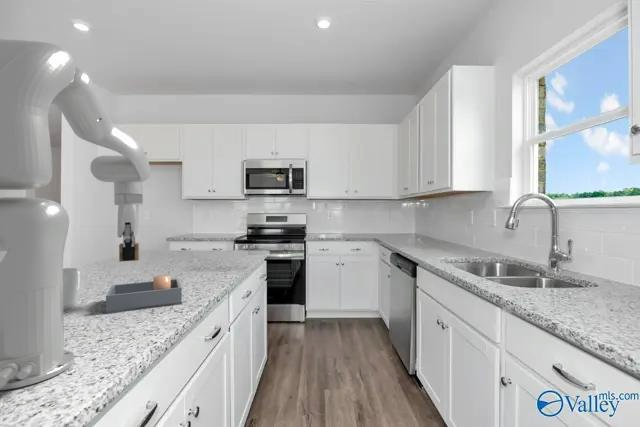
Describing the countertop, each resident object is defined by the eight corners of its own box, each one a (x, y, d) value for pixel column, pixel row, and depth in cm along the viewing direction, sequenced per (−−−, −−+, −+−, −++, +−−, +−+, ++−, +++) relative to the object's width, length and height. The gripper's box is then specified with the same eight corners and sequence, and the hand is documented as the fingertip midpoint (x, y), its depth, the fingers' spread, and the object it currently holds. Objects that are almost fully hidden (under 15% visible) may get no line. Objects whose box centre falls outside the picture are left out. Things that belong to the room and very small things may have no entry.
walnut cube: (119, 261, 94) (119, 245, 94) (121, 259, 98) (120, 243, 98) (138, 260, 96) (138, 244, 96) (139, 258, 101) (139, 242, 101)
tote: (178, 292, 111) (178, 278, 111) (181, 303, 98) (181, 287, 98) (112, 300, 101) (112, 285, 101) (106, 313, 89) (105, 296, 88)
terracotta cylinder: (153, 301, 98) (153, 279, 98) (153, 297, 103) (153, 276, 103) (171, 299, 101) (170, 277, 101) (170, 295, 105) (170, 274, 105)
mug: (62, 311, 90) (61, 273, 90) (31, 312, 90) (30, 273, 90) (92, 299, 102) (91, 265, 102) (64, 300, 102) (64, 266, 102)
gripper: (117, 200, 103) (118, 256, 103) (110, 199, 88) (111, 264, 88) (143, 201, 106) (144, 254, 107) (141, 199, 91) (142, 262, 92)
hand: (129, 258), depth 97 cm, fingers closed on walnut cube, 5 cm apart
